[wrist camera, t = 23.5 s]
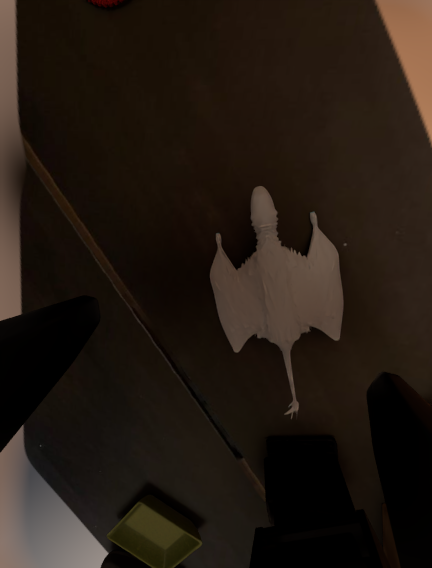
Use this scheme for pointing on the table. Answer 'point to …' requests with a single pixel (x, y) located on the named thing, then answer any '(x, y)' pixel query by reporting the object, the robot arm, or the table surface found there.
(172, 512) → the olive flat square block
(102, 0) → the necklace
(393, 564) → the cabinet
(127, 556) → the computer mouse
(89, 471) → the table surface
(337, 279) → the white dragon
